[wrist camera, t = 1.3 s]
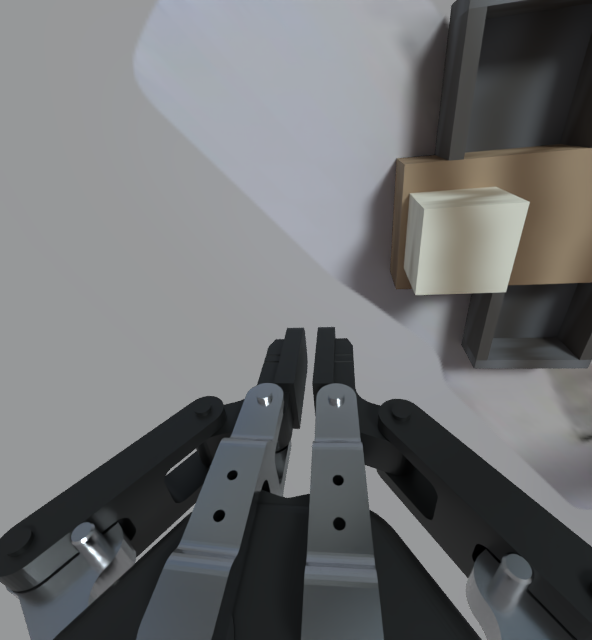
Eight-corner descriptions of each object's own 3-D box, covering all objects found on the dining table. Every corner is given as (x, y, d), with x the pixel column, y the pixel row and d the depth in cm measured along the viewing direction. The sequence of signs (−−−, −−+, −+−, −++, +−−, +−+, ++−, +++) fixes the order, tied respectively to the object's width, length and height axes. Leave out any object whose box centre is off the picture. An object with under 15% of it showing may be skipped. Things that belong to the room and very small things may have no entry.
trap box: (903, -65, 18) (1171, -150, 12) (662, 342, 33) (733, 391, 27) (405, 12, 22) (428, -25, 16) (385, 345, 37) (394, 389, 31)
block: (495, 186, 24) (530, 202, 19) (479, 264, 27) (506, 292, 23) (409, 193, 25) (424, 209, 20) (403, 267, 28) (415, 295, 23)
